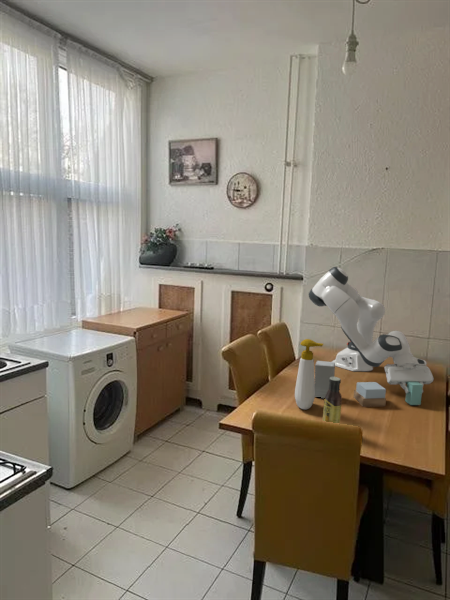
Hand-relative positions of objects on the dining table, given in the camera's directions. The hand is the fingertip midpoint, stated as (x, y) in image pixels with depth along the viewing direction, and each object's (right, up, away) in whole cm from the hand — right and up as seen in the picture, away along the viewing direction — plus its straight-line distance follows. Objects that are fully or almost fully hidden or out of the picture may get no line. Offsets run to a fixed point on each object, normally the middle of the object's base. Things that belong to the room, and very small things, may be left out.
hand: (414, 392), depth 189 cm
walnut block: (-19, -5, +2) cm, 20 cm away
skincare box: (-38, -3, +7) cm, 39 cm away
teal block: (0, -5, +1) cm, 5 cm away
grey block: (-19, -1, +2) cm, 19 cm away
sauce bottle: (-43, -8, -26) cm, 51 cm away
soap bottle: (-48, -5, -6) cm, 49 cm away
